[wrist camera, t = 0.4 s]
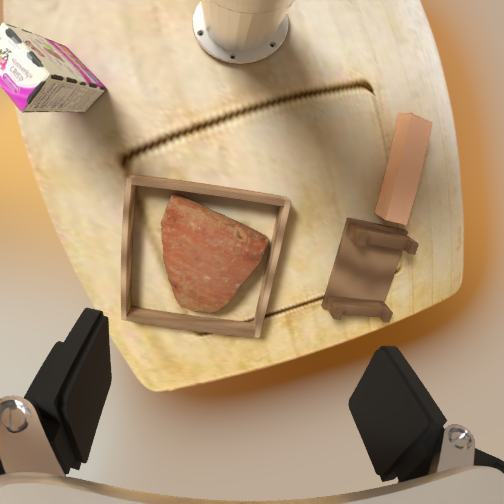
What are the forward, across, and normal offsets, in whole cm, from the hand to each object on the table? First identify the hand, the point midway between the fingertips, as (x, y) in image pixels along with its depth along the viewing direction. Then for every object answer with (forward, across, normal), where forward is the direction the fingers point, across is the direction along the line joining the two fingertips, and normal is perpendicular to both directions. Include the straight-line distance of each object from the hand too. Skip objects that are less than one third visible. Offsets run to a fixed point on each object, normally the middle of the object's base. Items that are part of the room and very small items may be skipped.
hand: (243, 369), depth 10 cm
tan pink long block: (+35, -24, -9) cm, 44 cm away
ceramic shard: (+36, +2, +11) cm, 37 cm away
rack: (+35, -24, +8) cm, 43 cm away
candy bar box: (+35, +25, -12) cm, 45 cm away
